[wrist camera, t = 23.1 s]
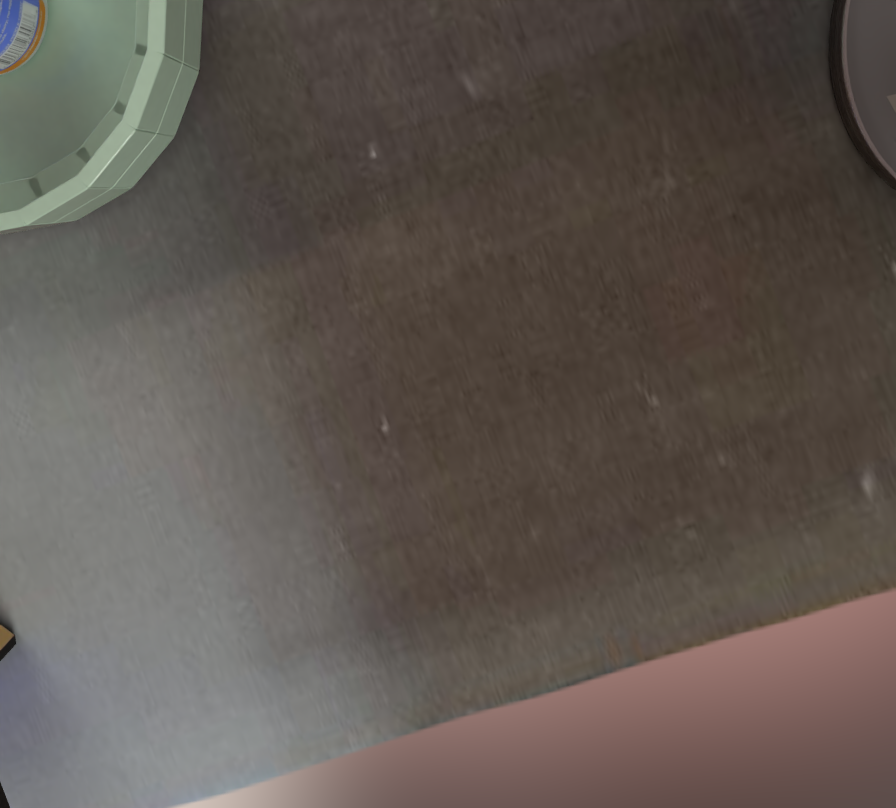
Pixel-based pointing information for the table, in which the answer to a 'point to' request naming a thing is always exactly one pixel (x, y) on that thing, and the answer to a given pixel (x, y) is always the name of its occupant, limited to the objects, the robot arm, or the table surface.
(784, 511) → the table surface
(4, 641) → the puzzle cube
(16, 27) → the pill bottle
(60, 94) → the bowl
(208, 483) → the table surface
